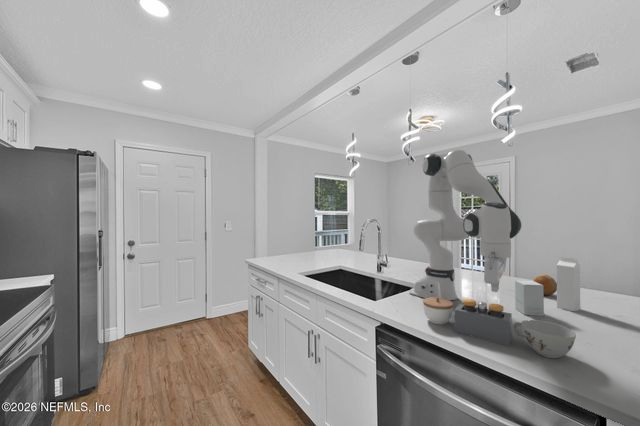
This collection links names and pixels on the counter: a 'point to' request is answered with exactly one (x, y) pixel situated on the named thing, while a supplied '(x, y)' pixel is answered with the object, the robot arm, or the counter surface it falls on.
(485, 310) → the shiny silver ball
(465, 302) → the knob left
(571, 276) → the milk
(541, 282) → the onion
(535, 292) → the supplement box
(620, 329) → the counter surface
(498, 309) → the knob right
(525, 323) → the teacup
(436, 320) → the lidded jar
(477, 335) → the mount
